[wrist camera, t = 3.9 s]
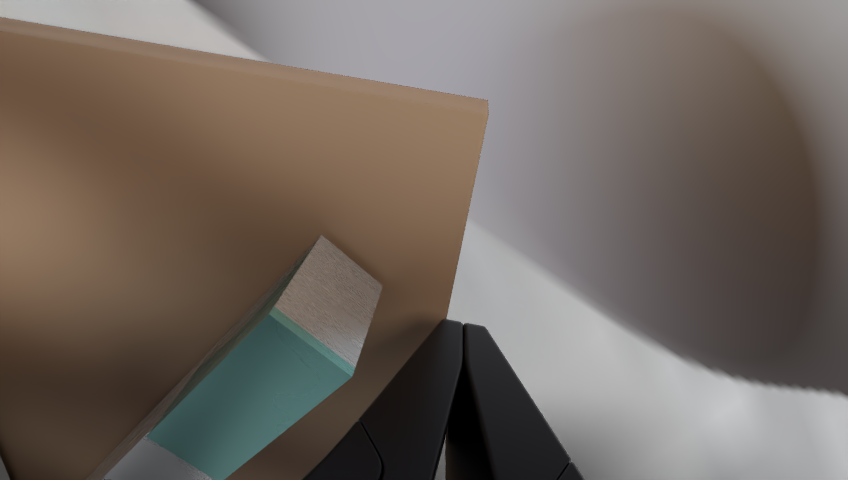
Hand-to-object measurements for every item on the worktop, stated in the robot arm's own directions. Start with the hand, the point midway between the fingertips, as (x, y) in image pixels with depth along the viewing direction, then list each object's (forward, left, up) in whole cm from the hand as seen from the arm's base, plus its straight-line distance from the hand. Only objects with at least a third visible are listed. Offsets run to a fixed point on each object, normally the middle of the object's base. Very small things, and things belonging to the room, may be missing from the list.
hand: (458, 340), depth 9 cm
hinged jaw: (-5, +6, -1) cm, 8 cm away
